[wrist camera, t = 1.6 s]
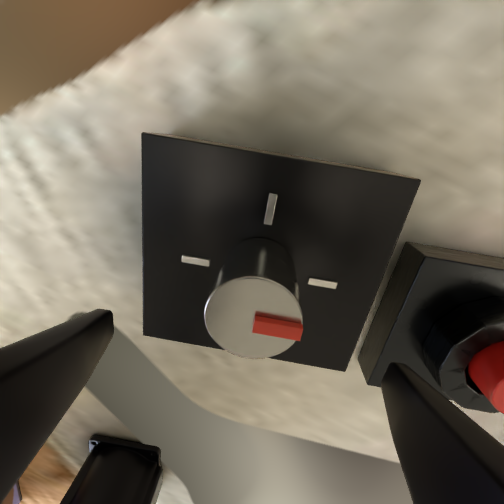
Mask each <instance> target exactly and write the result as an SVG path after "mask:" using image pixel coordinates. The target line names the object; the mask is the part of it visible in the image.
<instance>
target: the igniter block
mask: <svg viewBox="0 0 504 504" xmlns="http://www.w3.org/2000/svg"><path fill="white" fill-rule="evenodd" d="M502 341H504V258H498V257H493V256H487V255H481V254H475V253H470V252H464V251H458V250H452V249H447V248H441V247H435V246H429V245H423V244H418V243H412V242H406V243H405V245H404V248H403V250H402V253H401V255H400V257H399V260H398V262H397V265H396V267H395V270H394V272H393V274H392V277H391V279H390V282H389V284H388V287H387V289H386V291H385V294H384V296H383V299H382V301H381V303H380V306H379V308H378V311H377V313H376V316H375V318H374V320H373V323H372V325H371V328H370V330H369V333H368V335H367V337H366V340H365V342H364V345H363V347H362V350H361V352H360V354H359V357H358V361H359V364H360V367H361V369H362V372H363V375H364V377H365V380H366V383H367V385H371V386H377V387H381V381H382V378H383V376H384V374H385V372H386V370H387V368H388V366H389V364H390V363H391V362H398V363H403V364H406V365H407V366H409V367H410V368H411V369H412V370H413V371H415V372H416V373H417V374H418V375H419V376H420V377H422V378H423V379H424V380H425V381H426V382H428V383H429V384H430V385H431V386H432V387H434V388H435V389H436V390H437V391H438V392H440V393H441V394H442V395H443V396H444V397H446V398H447V399H448V400H454V401H455V402H456V403H457V404H459V405H460V406H461V407H463V408H467V409H473V410H478V411H484V412H489V413H492V412H493V413H496V412H500V411H498V410H497V409H496V408H495V407H494V406H493V405H492V404H491V402H490V401H489V400H488V399H487V398H486V396H485V395H484V394H483V393H482V392H481V390H480V389H479V388H478V387H477V385H476V384H475V383H474V382H473V381H472V379H471V378H470V376H469V373H468V364H469V363H470V361H471V359H472V358H473V356H474V355H475V354H477V353H478V352H480V351H482V350H483V349H485V348H486V347H488V346H490V345H491V344H493V343H497V342H502Z"/></svg>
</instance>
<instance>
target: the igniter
mask: <svg viewBox="0 0 504 504" xmlns="http://www.w3.org/2000/svg"><path fill="white" fill-rule="evenodd" d="M468 373H469V376H470V378H471V379H472V381H473V382H474V383H475V384H476V385H477V387H478V388H479V389H480V390H481V392H482V393H483V394H484V395H485V396H486V398H487V399H488V400H489V401H490V402H491V404H492V405H493V406H494V407H495V408H496V409H497V410H498V411H500V412H501V413H503V414H504V341H502V342H497V343H493V344H491V345H490V346H488V347H486V348H485V349H483V350H482V351H480V352H478V353H477V354H475V355H474V356H473V358H472V359H471V361H470V363H469V364H468Z"/></svg>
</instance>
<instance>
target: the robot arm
mask: <svg viewBox="0 0 504 504" xmlns="http://www.w3.org/2000/svg"><path fill="white" fill-rule="evenodd" d="M113 333H114V325H113V313H112V312H111V311H109V310H104V309H96V310H94V311H91V312H89V313H86V314H84V315H82V316H79V317H77V318H74V319H72V320H69V321H67V322H64V323H62V324H59V325H57V326H54V327H52V328H50V329H47V330H45V331H42V332H40V333H37V334H35V335H32V336H30V337H27V338H25V339H22V340H20V341H18V342H15V343H13V344H10V345H8V346H5V347H3V348H0V504H2V502H3V501H4V499H5V498H6V496H7V495H8V494H9V492H10V491H11V489H12V488H13V487H14V485H15V484H16V482H17V481H18V479H19V478H20V477H21V475H22V474H23V472H24V471H25V470H26V468H27V467H28V465H29V464H30V462H31V461H32V460H33V458H34V457H35V455H36V454H37V453H38V451H39V450H40V448H41V447H42V445H43V444H44V443H45V441H46V440H47V438H48V437H49V436H50V434H51V433H52V431H53V430H54V428H55V427H56V426H57V424H58V423H59V421H60V420H61V419H62V417H63V416H64V414H65V413H66V411H67V410H68V409H69V407H70V406H71V404H72V403H73V402H74V400H75V399H76V397H77V396H78V394H79V393H80V392H81V390H82V389H83V387H84V386H85V384H86V383H87V381H88V379H89V378H90V376H91V374H92V373H93V371H94V369H95V367H96V366H97V364H98V362H99V360H100V358H101V357H102V355H103V353H104V352H105V350H106V348H107V346H108V344H109V343H110V341H111V339H112V337H113ZM381 389H382V393H383V398H384V402H385V407H386V411H387V416H388V420H389V425H390V429H391V434H392V438H393V441H394V444H395V448H396V451H397V454H398V457H399V460H400V463H401V467H402V470H403V473H404V476H405V479H406V482H407V485H408V488H409V491H410V494H411V498H412V500H413V504H504V446H503V445H502V444H501V443H499V442H498V441H497V440H496V439H495V438H493V437H492V436H491V435H490V434H489V433H487V432H486V431H485V430H484V429H483V428H481V427H480V426H479V425H478V424H477V423H476V422H474V421H473V420H472V419H471V418H470V417H468V416H467V415H466V414H465V413H464V412H462V411H461V410H460V409H459V408H458V407H456V406H455V405H454V404H453V403H452V402H450V401H449V400H448V399H447V398H446V397H444V396H443V395H442V394H441V393H440V392H438V391H437V390H436V389H435V388H434V387H432V386H431V385H430V384H429V383H428V382H426V381H425V380H424V379H423V378H422V377H420V376H419V375H418V374H417V373H416V372H415V371H413V370H412V369H411V368H410V367H409V366H407V365H406V364H403V363H398V362H391V363H390V364H389V366H388V368H387V370H386V372H385V374H384V376H383V378H382V381H381ZM89 449H90V454H89V456H88V457H87V459H86V461H85V462H84V464H83V466H82V467H81V469H80V471H79V472H78V474H77V476H76V477H75V479H74V481H73V482H72V484H71V486H70V488H69V489H68V491H67V493H66V494H65V496H64V498H63V499H62V501H61V503H60V504H156V501H157V498H158V495H159V492H160V489H161V486H162V477H163V469H162V467H161V466H160V457H161V450H160V448H158V447H156V446H151V445H146V444H141V443H135V442H130V441H125V440H119V439H114V438H109V437H103V436H98V435H93V436H91V438H90V440H89Z"/></svg>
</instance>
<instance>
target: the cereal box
mask: <svg viewBox="0 0 504 504" xmlns="http://www.w3.org/2000/svg"><path fill="white" fill-rule="evenodd" d="M21 500H22V498H21V493H20V488H19V484H18V481H17V482H16V484H15V485H14V487H13V488H12V489H11V491H10V492H9V494H8V495H7V496H6V498H5V499H4V501H3V502H2V504H19V503H20V501H21Z"/></svg>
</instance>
